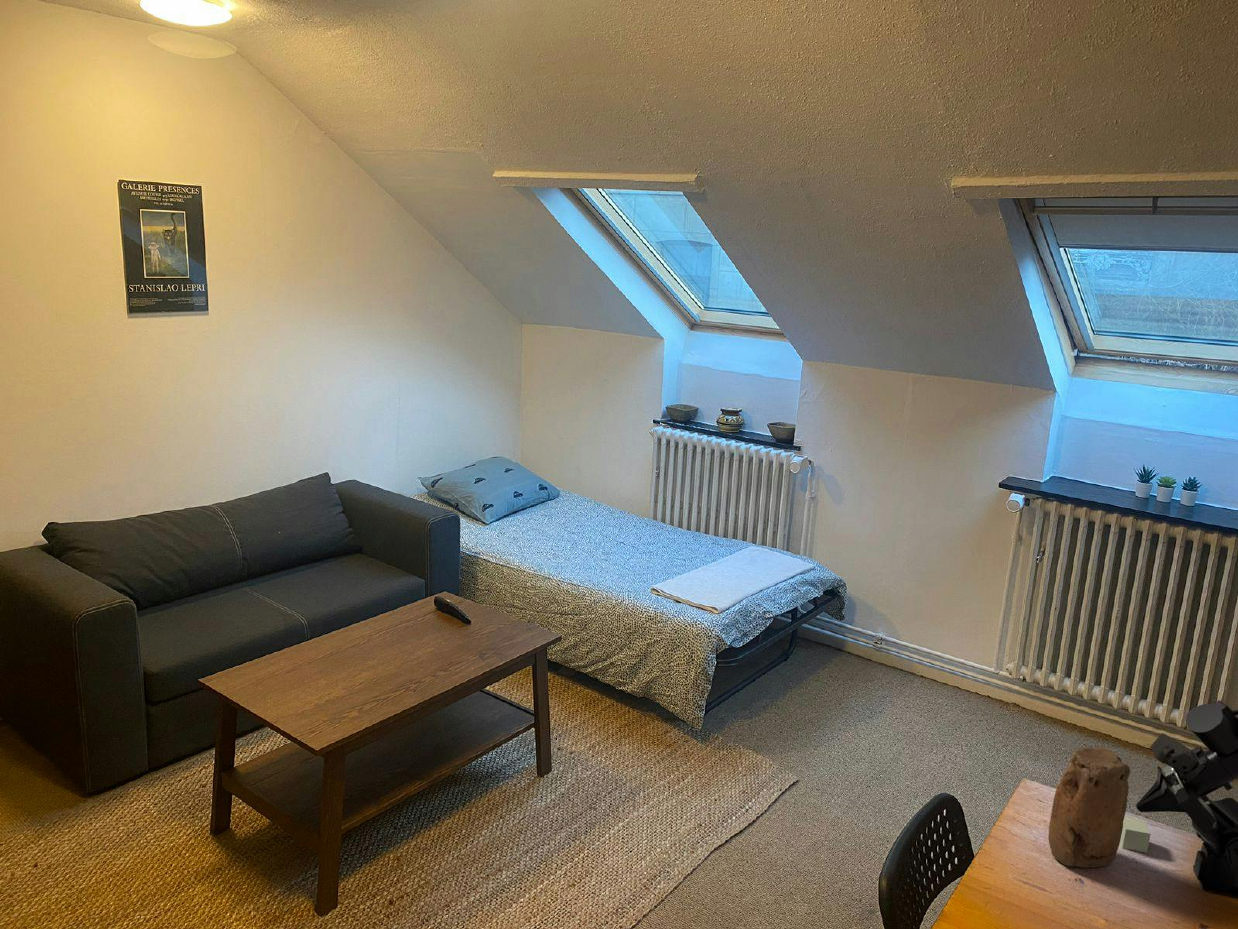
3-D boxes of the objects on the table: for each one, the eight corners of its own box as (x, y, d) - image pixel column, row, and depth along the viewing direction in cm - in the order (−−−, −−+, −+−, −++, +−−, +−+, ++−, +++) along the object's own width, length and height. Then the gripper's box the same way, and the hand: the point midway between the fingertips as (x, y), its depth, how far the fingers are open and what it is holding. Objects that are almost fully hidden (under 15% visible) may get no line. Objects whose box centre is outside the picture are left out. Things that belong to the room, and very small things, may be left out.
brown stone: (1090, 840, 168) (1108, 742, 163) (1120, 867, 161) (1140, 766, 156) (1038, 847, 166) (1055, 748, 161) (1067, 875, 159) (1085, 772, 154)
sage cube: (1141, 839, 169) (1145, 820, 168) (1146, 853, 165) (1150, 833, 164) (1117, 835, 170) (1120, 816, 169) (1122, 848, 166) (1125, 829, 165)
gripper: (1174, 700, 161) (1096, 745, 167) (1206, 756, 144) (1117, 804, 150) (1217, 749, 161) (1137, 792, 167) (1254, 810, 144) (1163, 856, 150)
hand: (1137, 808), depth 158 cm, fingers closed
